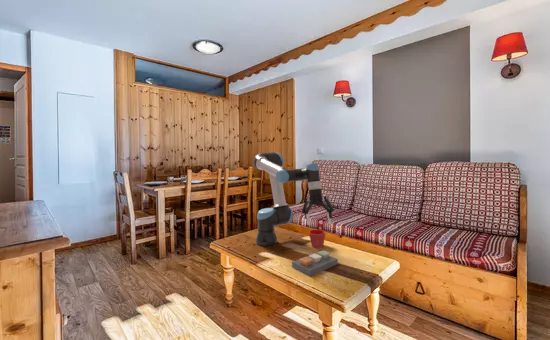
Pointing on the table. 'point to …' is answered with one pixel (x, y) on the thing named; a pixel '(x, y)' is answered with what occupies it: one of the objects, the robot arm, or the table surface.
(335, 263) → the button panel
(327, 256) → the sage button
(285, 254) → the table surface
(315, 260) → the cream button
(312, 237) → the flower pot
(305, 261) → the rust button
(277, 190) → the robot arm
